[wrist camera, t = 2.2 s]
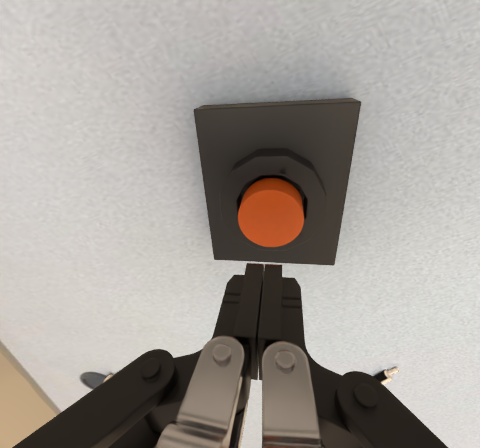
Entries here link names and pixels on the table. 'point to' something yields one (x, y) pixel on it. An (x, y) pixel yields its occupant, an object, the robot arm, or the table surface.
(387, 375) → the pen
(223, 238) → the housing
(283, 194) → the button
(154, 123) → the table surface
